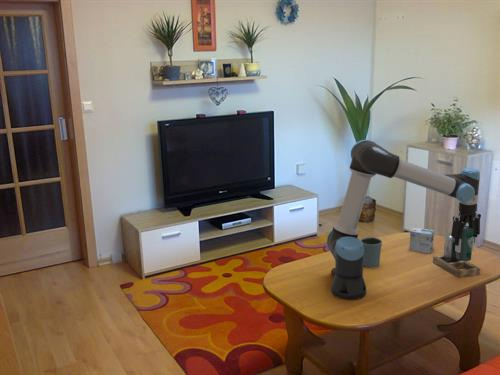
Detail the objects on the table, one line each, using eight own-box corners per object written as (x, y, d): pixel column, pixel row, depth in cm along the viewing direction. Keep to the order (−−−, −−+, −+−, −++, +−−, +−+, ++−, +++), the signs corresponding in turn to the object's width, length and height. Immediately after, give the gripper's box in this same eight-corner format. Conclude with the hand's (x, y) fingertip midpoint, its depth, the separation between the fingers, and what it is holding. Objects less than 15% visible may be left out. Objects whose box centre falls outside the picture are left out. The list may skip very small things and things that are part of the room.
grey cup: (360, 267, 246) (360, 244, 243) (359, 259, 256) (360, 236, 253) (381, 268, 245) (382, 245, 241) (380, 260, 254) (381, 237, 251)
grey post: (449, 268, 242) (451, 238, 238) (440, 263, 248) (442, 234, 244) (459, 266, 244) (462, 237, 240) (450, 261, 250) (453, 232, 246)
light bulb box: (433, 249, 265) (434, 230, 262) (430, 254, 259) (431, 234, 257) (412, 246, 270) (413, 226, 268) (408, 250, 265) (409, 230, 262)
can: (471, 261, 233) (474, 230, 229) (457, 260, 234) (460, 229, 230) (469, 256, 239) (471, 225, 235) (455, 255, 240) (457, 225, 236)
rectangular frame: (459, 278, 232) (459, 272, 231) (432, 262, 249) (433, 256, 249) (480, 274, 235) (480, 268, 234) (452, 259, 253) (453, 253, 252)
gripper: (455, 207, 223) (451, 256, 229) (492, 202, 229) (487, 250, 235) (444, 202, 230) (441, 250, 236) (480, 198, 235) (475, 244, 242)
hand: (464, 250), depth 235 cm, fingers closed on can, 6 cm apart
